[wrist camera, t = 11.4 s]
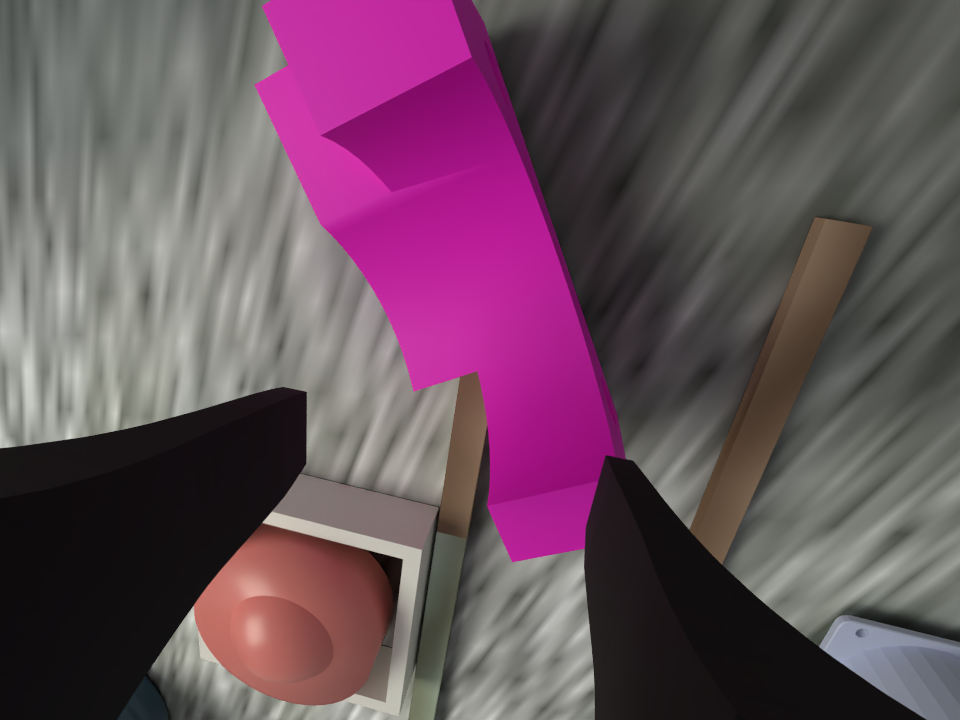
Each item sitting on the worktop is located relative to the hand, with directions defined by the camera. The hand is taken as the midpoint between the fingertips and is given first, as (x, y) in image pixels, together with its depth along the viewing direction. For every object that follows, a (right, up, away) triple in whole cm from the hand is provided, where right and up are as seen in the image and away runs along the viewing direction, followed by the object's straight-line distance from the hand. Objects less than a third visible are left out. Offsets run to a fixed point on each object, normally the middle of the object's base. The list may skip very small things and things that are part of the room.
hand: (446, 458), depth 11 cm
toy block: (+1, +6, +8) cm, 10 cm away
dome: (-8, -9, +17) cm, 20 cm away
